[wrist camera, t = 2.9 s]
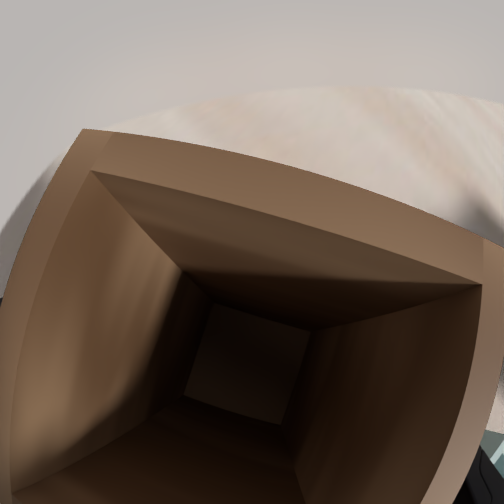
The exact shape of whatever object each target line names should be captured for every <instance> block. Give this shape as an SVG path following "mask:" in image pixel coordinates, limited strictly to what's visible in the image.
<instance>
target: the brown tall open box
mask: <svg viewBox="0 0 504 504" xmlns="http://www.w3.org/2000/svg"><path fill="white" fill-rule="evenodd" d="M503 358H504V248H503V247H501V246H499V245H497V244H495V243H493V242H491V241H489V240H487V239H485V238H483V237H481V236H479V235H477V234H475V233H472V232H470V231H468V230H466V229H464V228H462V227H459V226H457V225H455V224H453V223H450V222H448V221H446V220H443V219H441V218H439V217H436V216H434V215H432V214H429V213H427V212H424V211H422V210H419V209H417V208H414V207H412V206H409V205H407V204H404V203H402V202H399V201H396V200H394V199H391V198H388V197H385V196H383V195H380V194H377V193H374V192H371V191H369V190H366V189H363V188H360V187H357V186H354V185H351V184H348V183H345V182H342V181H338V180H335V179H332V178H329V177H326V176H322V175H319V174H316V173H312V172H309V171H305V170H302V169H298V168H295V167H291V166H287V165H284V164H280V163H276V162H272V161H268V160H264V159H260V158H256V157H252V156H248V155H244V154H239V153H235V152H230V151H226V150H221V149H216V148H211V147H207V146H201V145H196V144H191V143H186V142H180V141H174V140H168V139H162V138H156V137H149V136H142V135H135V134H128V133H120V132H111V131H102V130H92V129H82V131H81V132H80V134H79V135H78V137H77V138H76V140H75V141H74V143H73V144H72V146H71V147H70V149H69V151H68V152H67V154H66V156H65V157H64V159H63V160H62V162H61V164H60V166H59V167H58V169H57V171H56V173H55V174H54V176H53V178H52V180H51V182H50V183H49V185H48V187H47V189H46V191H45V193H44V195H43V197H42V199H41V201H40V203H39V205H38V207H37V209H36V211H35V213H34V215H33V218H32V220H31V222H30V224H29V227H28V229H27V231H26V234H25V236H24V238H23V241H22V243H21V246H20V248H19V251H18V254H17V256H16V259H15V262H14V265H13V267H12V270H11V273H10V276H9V279H8V283H7V286H6V289H5V292H4V296H3V299H2V303H1V307H0V503H1V504H452V503H453V501H454V499H455V498H456V496H457V494H458V492H459V490H460V488H461V486H462V484H463V482H464V480H465V478H466V476H467V474H468V471H469V469H470V467H471V465H472V462H473V460H474V458H475V455H476V453H477V450H478V448H479V445H480V442H481V440H482V437H483V434H484V431H485V428H486V425H487V422H488V419H489V416H490V413H491V409H492V406H493V402H494V399H495V395H496V391H497V387H498V382H499V378H500V373H501V368H502V363H503Z"/></svg>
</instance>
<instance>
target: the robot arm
mask: <svg viewBox="0 0 504 504" xmlns="http://www.w3.org/2000/svg"><path fill="white" fill-rule="evenodd" d="M2 299H3V298H0V307H1V303H2ZM452 504H504V478H503V477H502V475H501V474H500V473H499V471H498V470H497V469H496V467H495V466H494V464H493V463H492V462H491V460H490V459H489V457H488V456H487V454H486V453H485V451H484V450H483V449H482V447H481V445H479V448H478V450H477V453H476V455H475V458H474V460H473V462H472V465H471V467H470V469H469V471H468V474H467V476H466V478H465V480H464V482H463V484H462V486H461V488H460V490H459V492H458V494H457V496H456V498H455V499H454V501H453V503H452Z"/></svg>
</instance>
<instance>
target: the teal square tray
mask: <svg viewBox="0 0 504 504" xmlns="http://www.w3.org/2000/svg"><path fill="white" fill-rule="evenodd" d="M480 445H481V447H482V449H483V450H484V451H485V453H486V454H487V456H488V457H489V459H490V460H491V462H492V463H493V464H494V466H495V467H496V469H497V470H498V471H499V473H500V474H501V475H502V477H503V478H504V434H501V433H497V432H493V431H489V430H485V431H484V434H483V437H482V440H481V442H480Z"/></svg>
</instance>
